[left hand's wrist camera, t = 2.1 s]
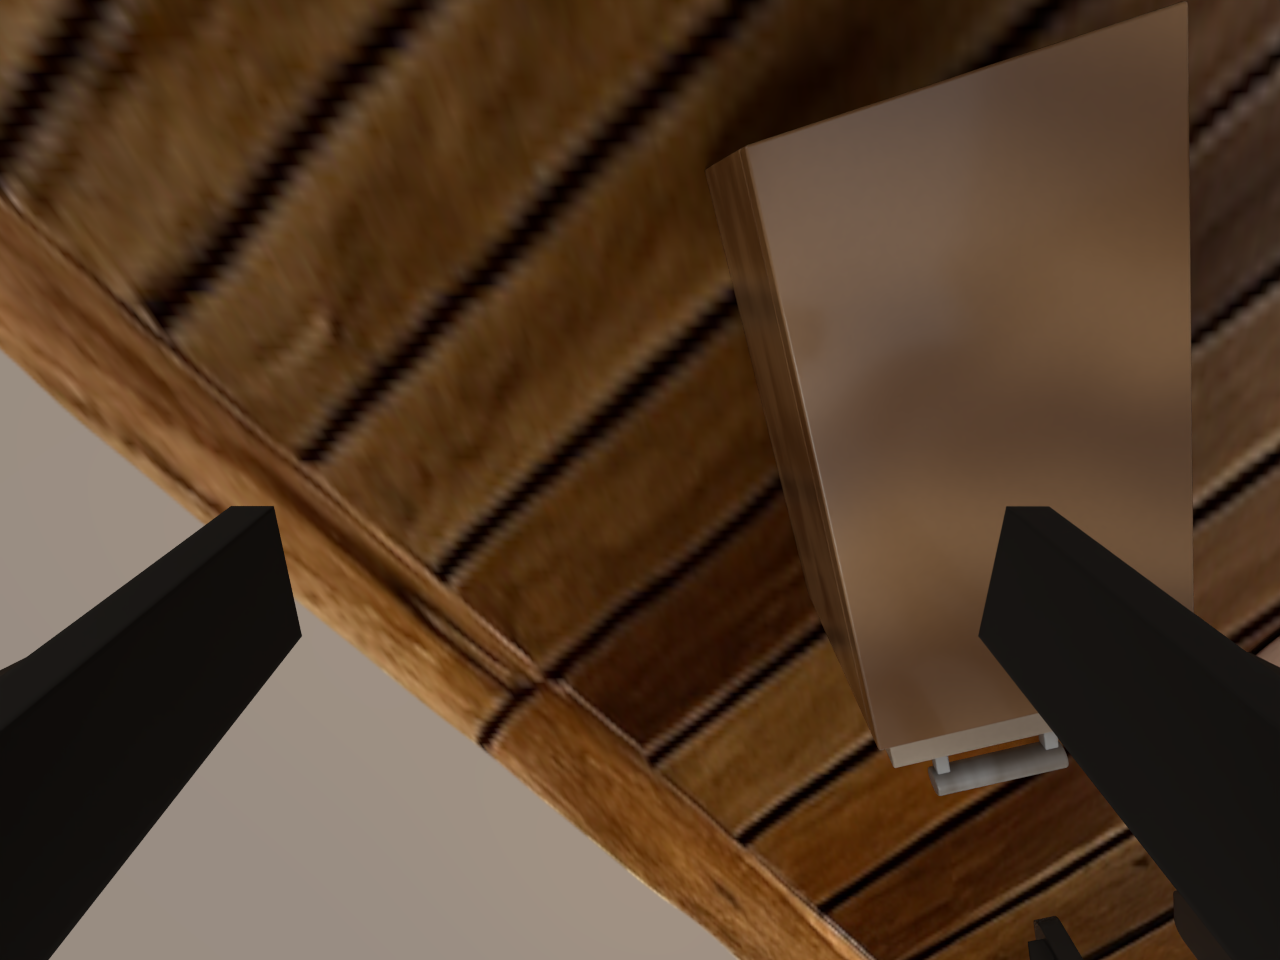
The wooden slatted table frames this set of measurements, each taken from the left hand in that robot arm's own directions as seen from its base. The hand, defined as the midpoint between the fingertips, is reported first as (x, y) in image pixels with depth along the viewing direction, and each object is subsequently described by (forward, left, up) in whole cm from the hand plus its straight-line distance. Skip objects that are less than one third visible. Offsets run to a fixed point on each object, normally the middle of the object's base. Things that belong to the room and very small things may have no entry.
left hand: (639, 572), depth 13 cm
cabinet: (-7, +9, -21) cm, 24 cm away
